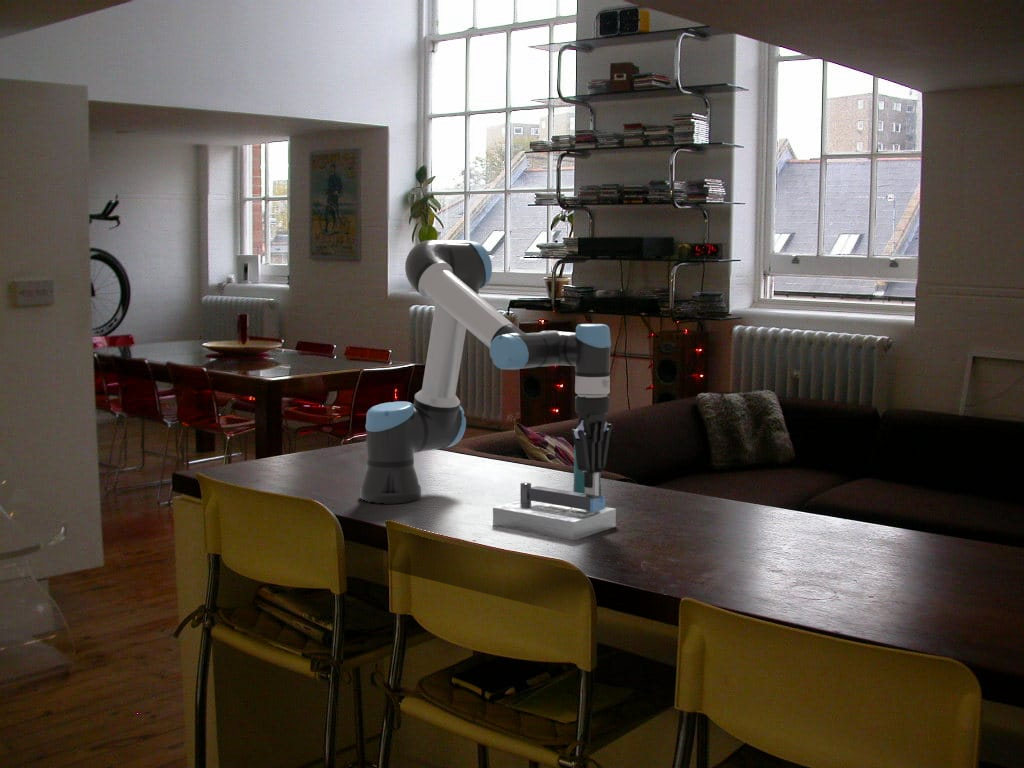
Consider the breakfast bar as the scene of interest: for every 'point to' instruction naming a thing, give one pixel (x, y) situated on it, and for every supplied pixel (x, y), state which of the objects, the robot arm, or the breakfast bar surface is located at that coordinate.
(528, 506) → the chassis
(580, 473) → the beverage bottle
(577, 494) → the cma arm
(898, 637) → the breakfast bar surface
